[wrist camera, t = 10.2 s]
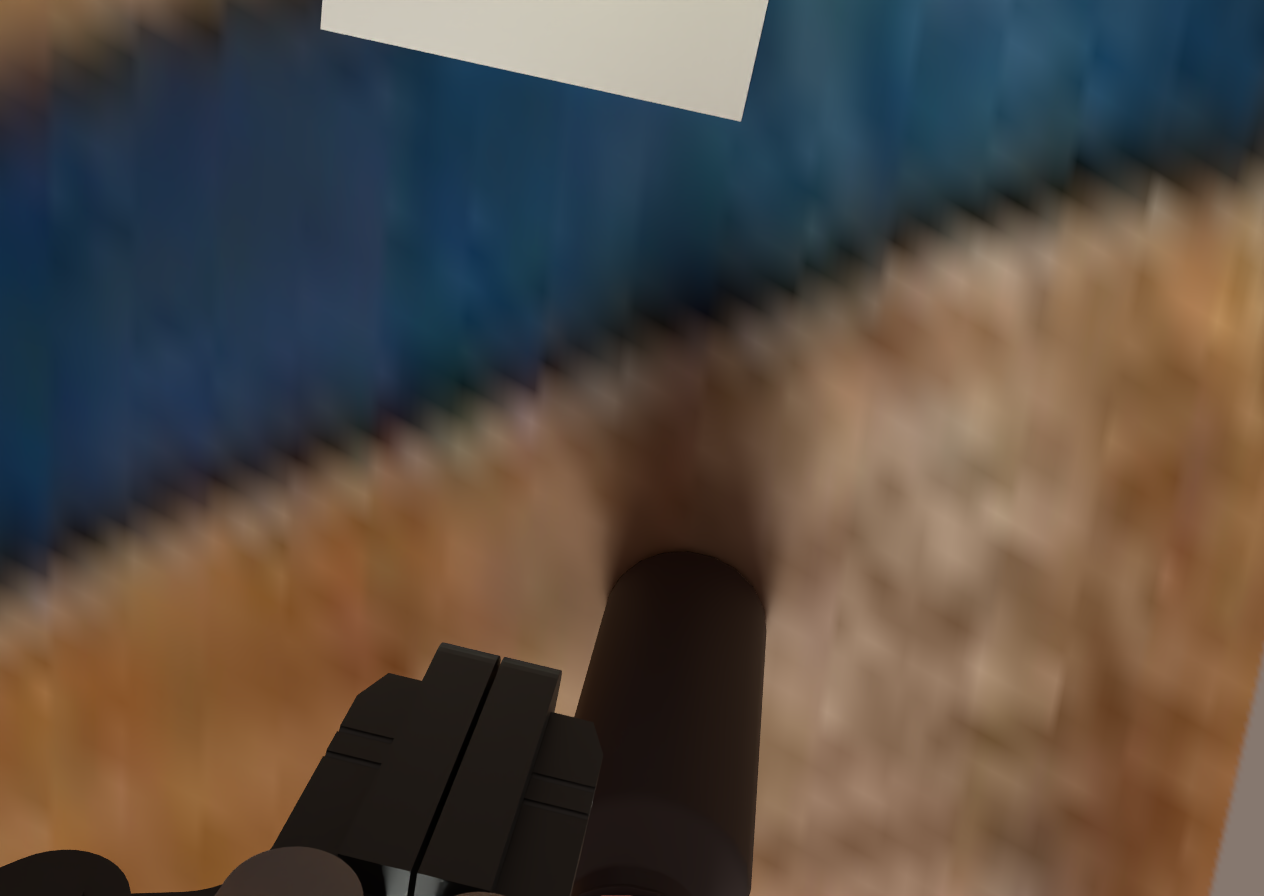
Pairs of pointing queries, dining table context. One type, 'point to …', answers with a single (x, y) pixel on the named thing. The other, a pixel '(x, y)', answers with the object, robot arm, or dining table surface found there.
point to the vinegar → (675, 732)
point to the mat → (582, 42)
